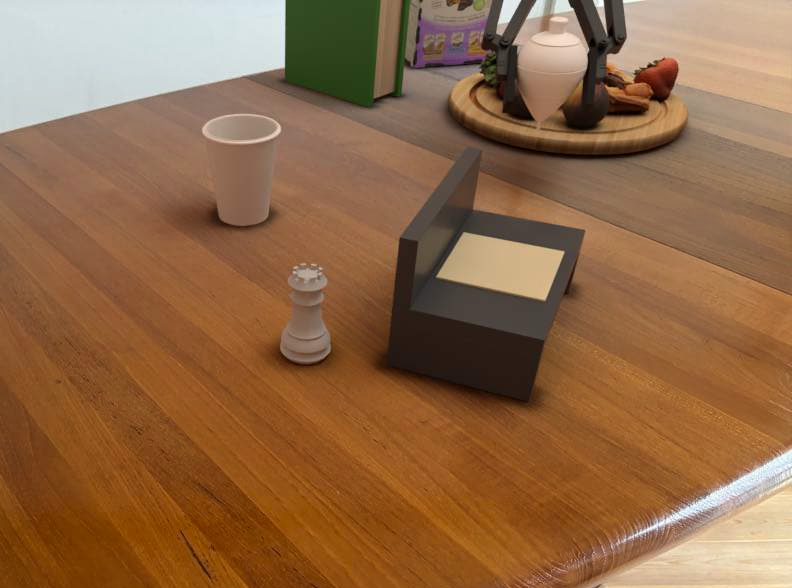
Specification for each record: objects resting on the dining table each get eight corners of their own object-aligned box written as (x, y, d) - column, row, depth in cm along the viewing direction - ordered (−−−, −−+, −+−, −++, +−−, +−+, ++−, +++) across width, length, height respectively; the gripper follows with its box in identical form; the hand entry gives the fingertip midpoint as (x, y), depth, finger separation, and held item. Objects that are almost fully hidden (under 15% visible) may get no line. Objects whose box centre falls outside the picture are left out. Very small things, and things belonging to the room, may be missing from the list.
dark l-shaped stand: (571, 286, 79) (602, 167, 72) (529, 402, 65) (562, 269, 58) (449, 261, 84) (466, 146, 76) (385, 365, 70) (399, 237, 62)
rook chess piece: (334, 365, 70) (339, 283, 65) (282, 368, 70) (283, 286, 65) (326, 335, 73) (330, 256, 68) (277, 338, 73) (277, 258, 68)
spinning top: (532, 146, 91) (555, 31, 83) (490, 125, 96) (507, 14, 89) (587, 135, 93) (613, 21, 86) (542, 114, 99) (563, 6, 91)
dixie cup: (197, 205, 95) (192, 119, 89) (265, 194, 97) (264, 109, 91) (220, 236, 89) (216, 146, 82) (291, 223, 91) (293, 134, 85)
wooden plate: (658, 84, 126) (674, 27, 121) (711, 165, 102) (734, 98, 96) (446, 76, 131) (453, 20, 126) (448, 152, 106) (457, 87, 101)
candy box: (478, 53, 140) (495, -56, 130) (492, 63, 136) (510, -49, 125) (401, 58, 139) (411, -52, 128) (412, 68, 134) (424, -45, 124)
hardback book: (401, 95, 124) (418, -89, 109) (368, 107, 120) (382, -82, 105) (317, 70, 134) (322, -101, 119) (284, 80, 130) (286, -95, 115)
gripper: (646, -61, 94) (635, 128, 92) (464, -62, 97) (448, 120, 95) (670, -109, 87) (658, 95, 85) (472, -109, 90) (454, 88, 88)
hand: (547, 108), depth 90 cm, fingers closed on spinning top, 8 cm apart
